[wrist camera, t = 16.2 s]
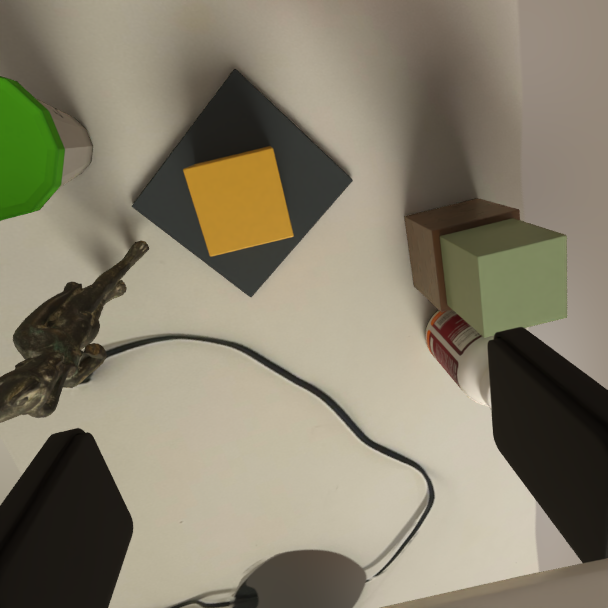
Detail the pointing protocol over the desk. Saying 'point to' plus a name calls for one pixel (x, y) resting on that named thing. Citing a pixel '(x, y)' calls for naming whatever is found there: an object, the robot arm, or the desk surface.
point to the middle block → (505, 275)
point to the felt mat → (234, 140)
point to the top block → (239, 201)
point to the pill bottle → (461, 354)
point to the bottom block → (426, 240)
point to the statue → (61, 343)
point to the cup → (36, 150)
